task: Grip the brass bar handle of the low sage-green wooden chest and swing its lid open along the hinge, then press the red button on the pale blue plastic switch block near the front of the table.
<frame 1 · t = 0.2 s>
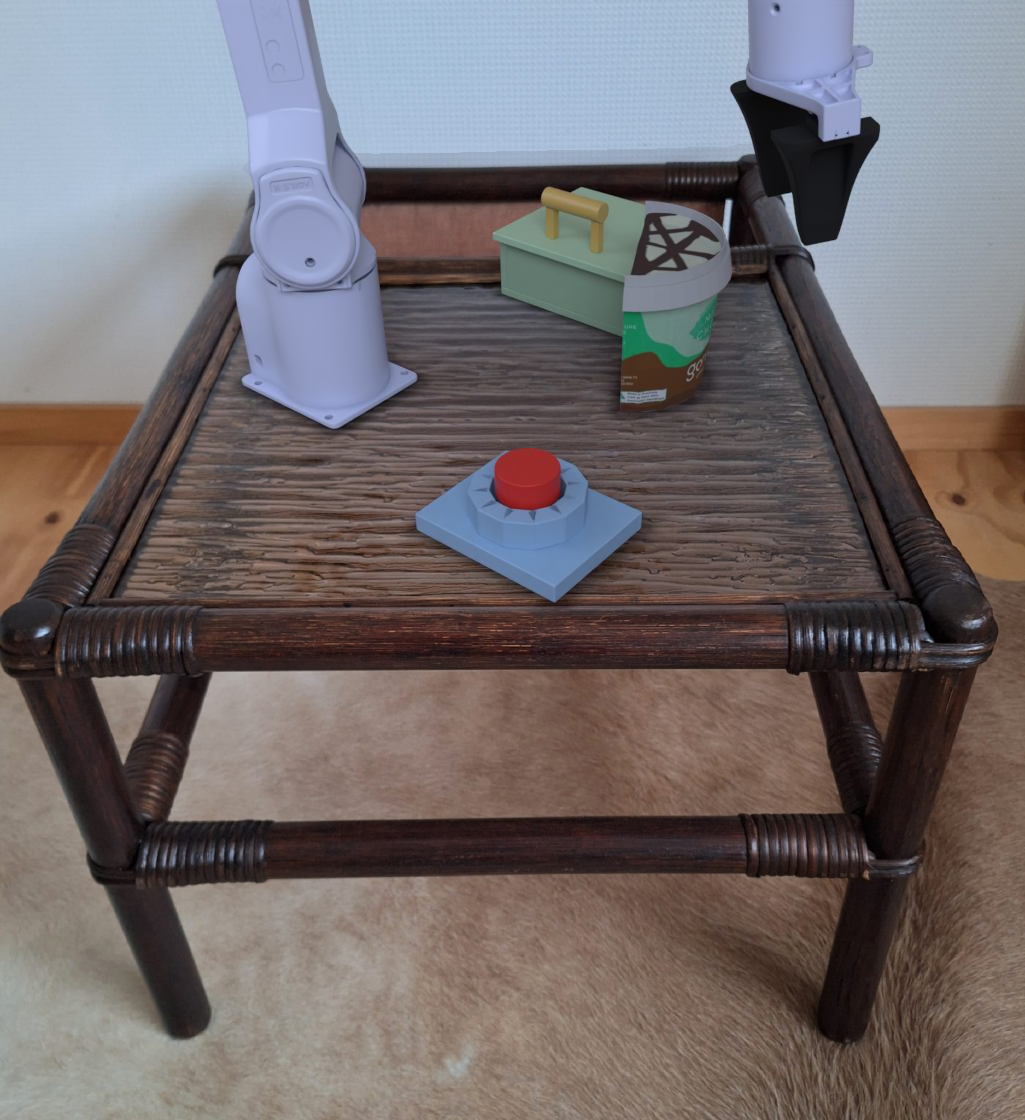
hand: (799, 215, 67), 11 cm above the table, tool pointing down, fingers open, 7 cm apart
switch block: (528, 529, 61), on the table
lid: (603, 208, 79), point 7 cm above the table, hinge at 0.0°
chest: (603, 291, 83), on the table
button: (527, 479, 59), point 3 cm above the table, slide at 0.1 cm
food container: (673, 381, 73), on the table
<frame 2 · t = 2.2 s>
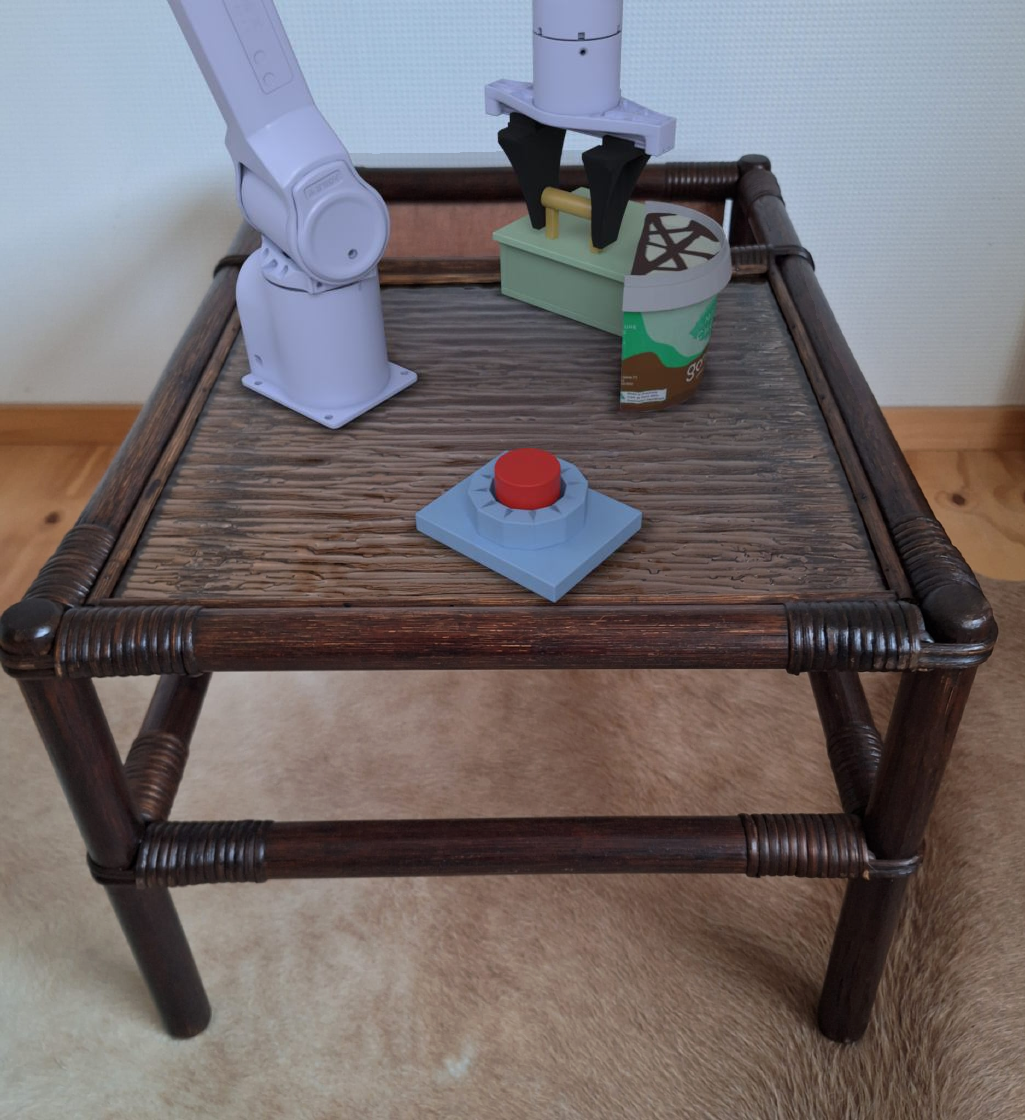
hand: (574, 234, 77), 6 cm above the table, tool pointing down, fingers closed on lid, 5 cm apart
lid: (603, 208, 79), point 7 cm above the table, hinge at 0.0°, touching gripper
everything else where it was.
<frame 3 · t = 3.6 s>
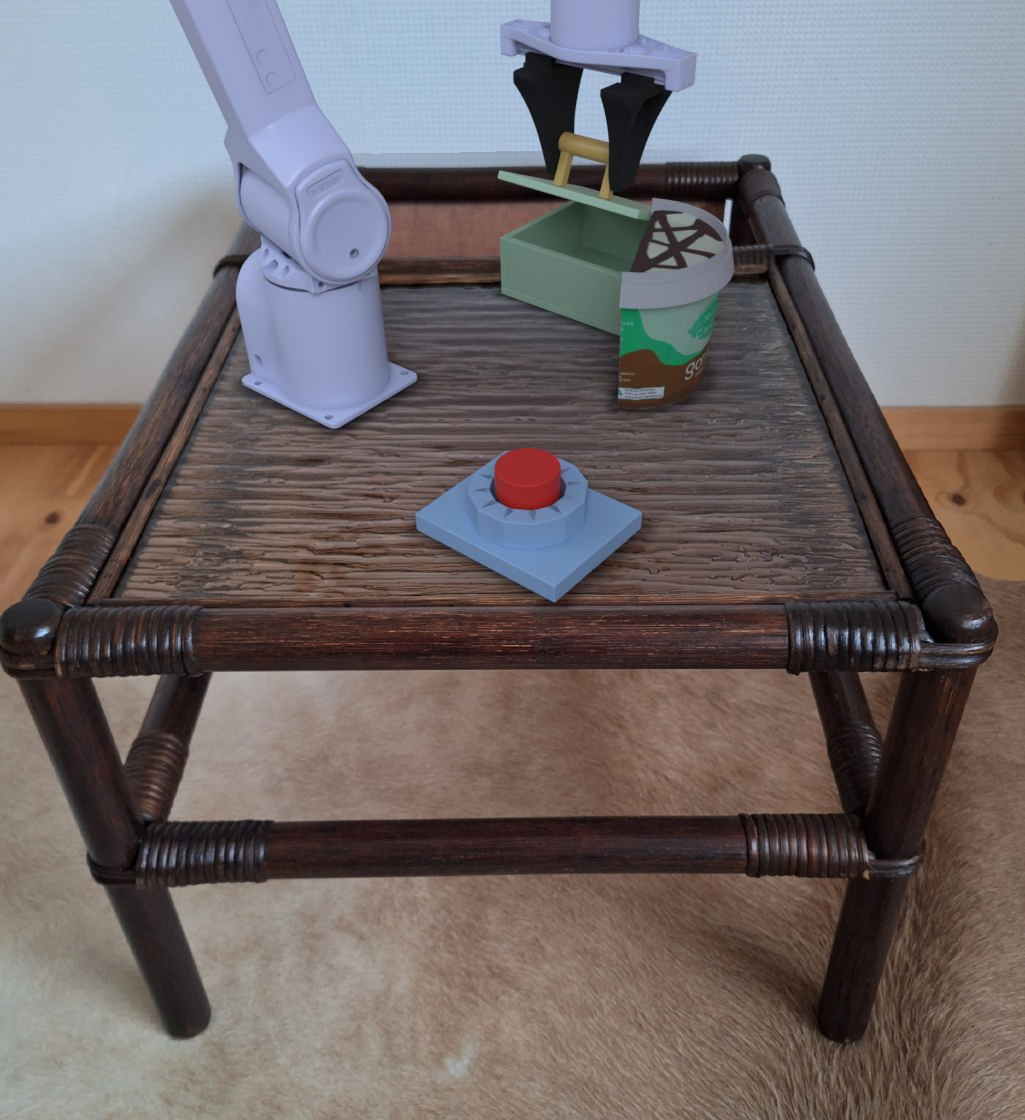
hand: (590, 178, 76), 9 cm above the table, tool pointing down, fingers closed on lid, 5 cm apart
lid: (613, 175, 78), point 9 cm above the table, hinge at 23.3°, touching gripper
everything else where it was.
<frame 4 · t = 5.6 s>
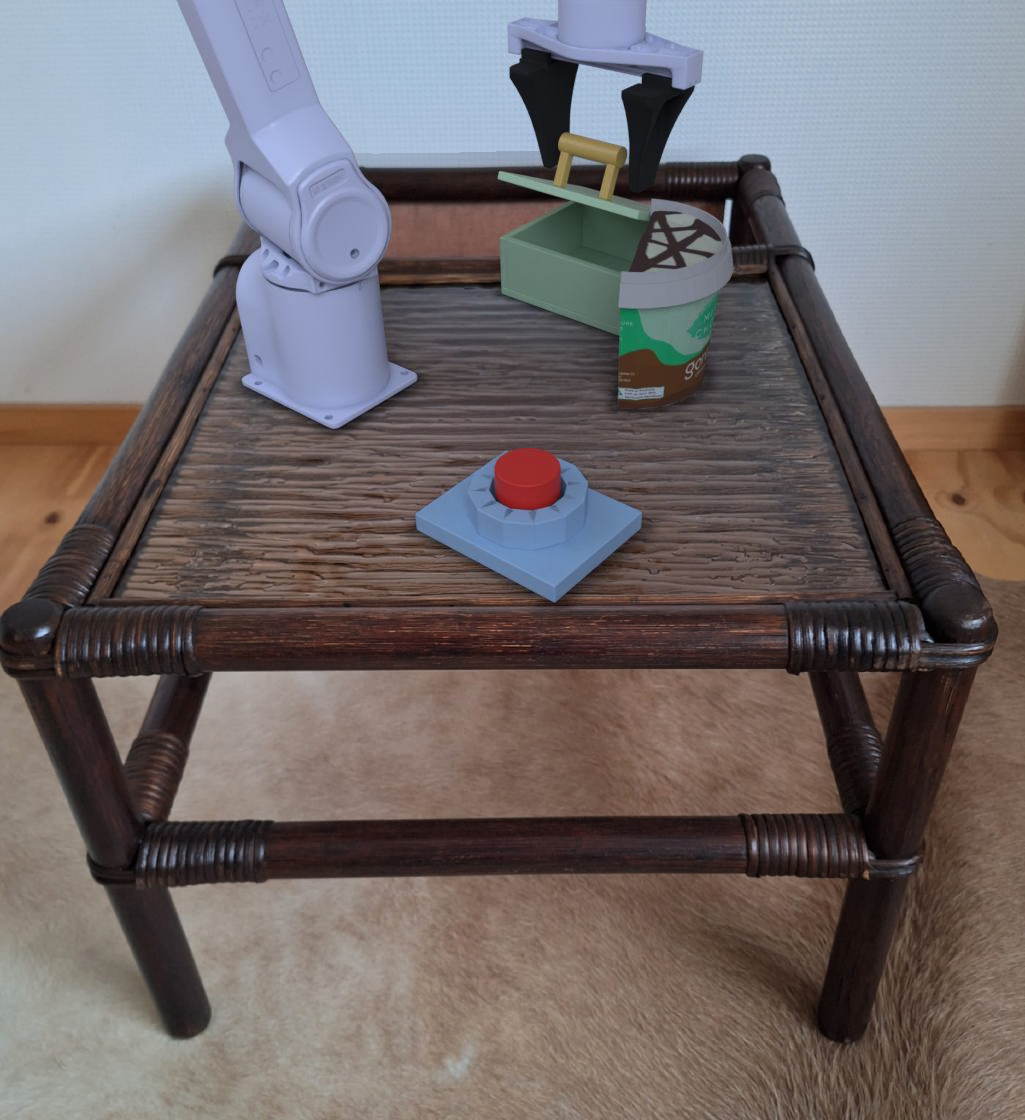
hand: (597, 175, 76), 9 cm above the table, tool pointing down, fingers open, 7 cm apart
lid: (613, 176, 78), point 9 cm above the table, hinge at 23.1°, touching food container
food container: (674, 379, 73), on the table, touching lid
everything else where it was.
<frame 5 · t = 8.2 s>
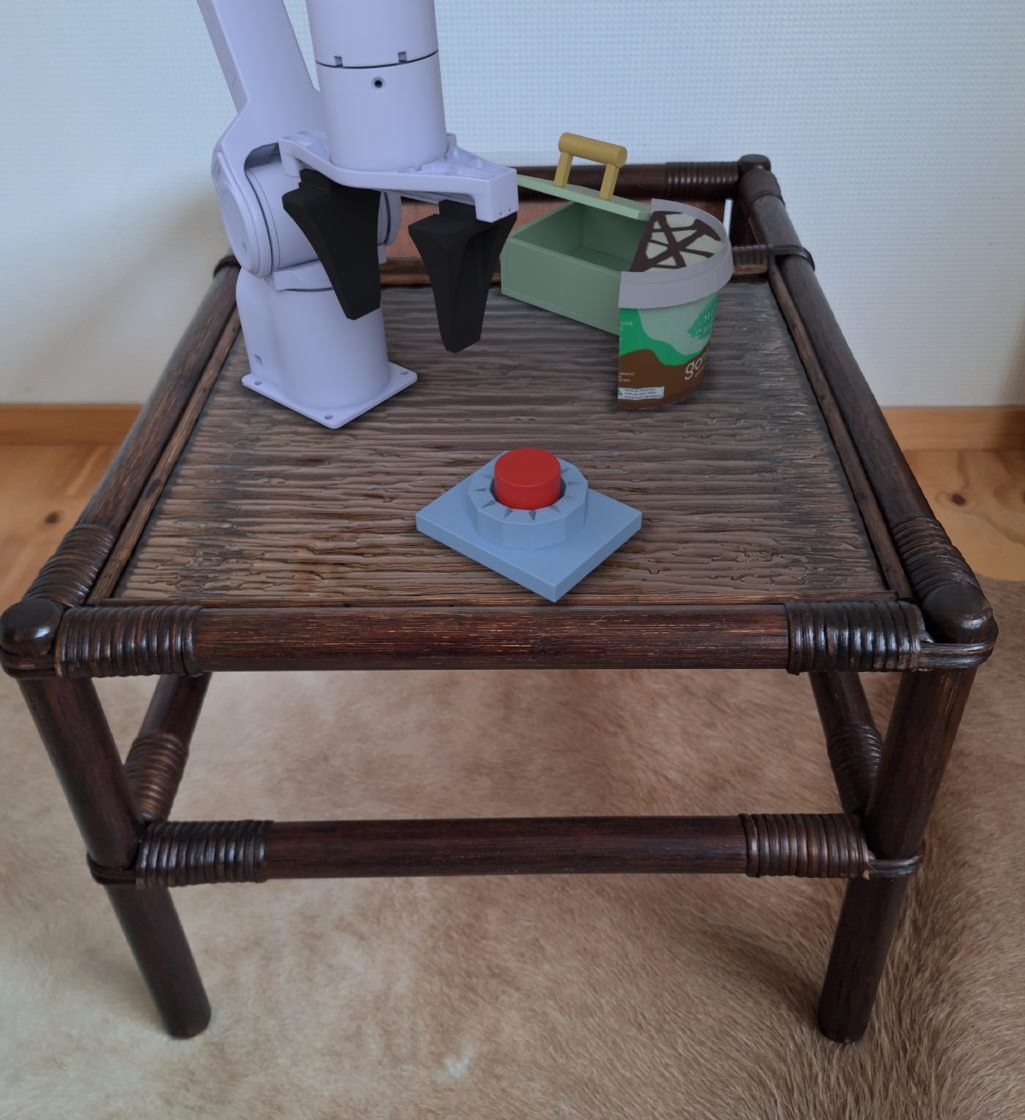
hand: (411, 328, 58), 10 cm above the table, tool pointing down, fingers open, 7 cm apart
nothing on the table moved.
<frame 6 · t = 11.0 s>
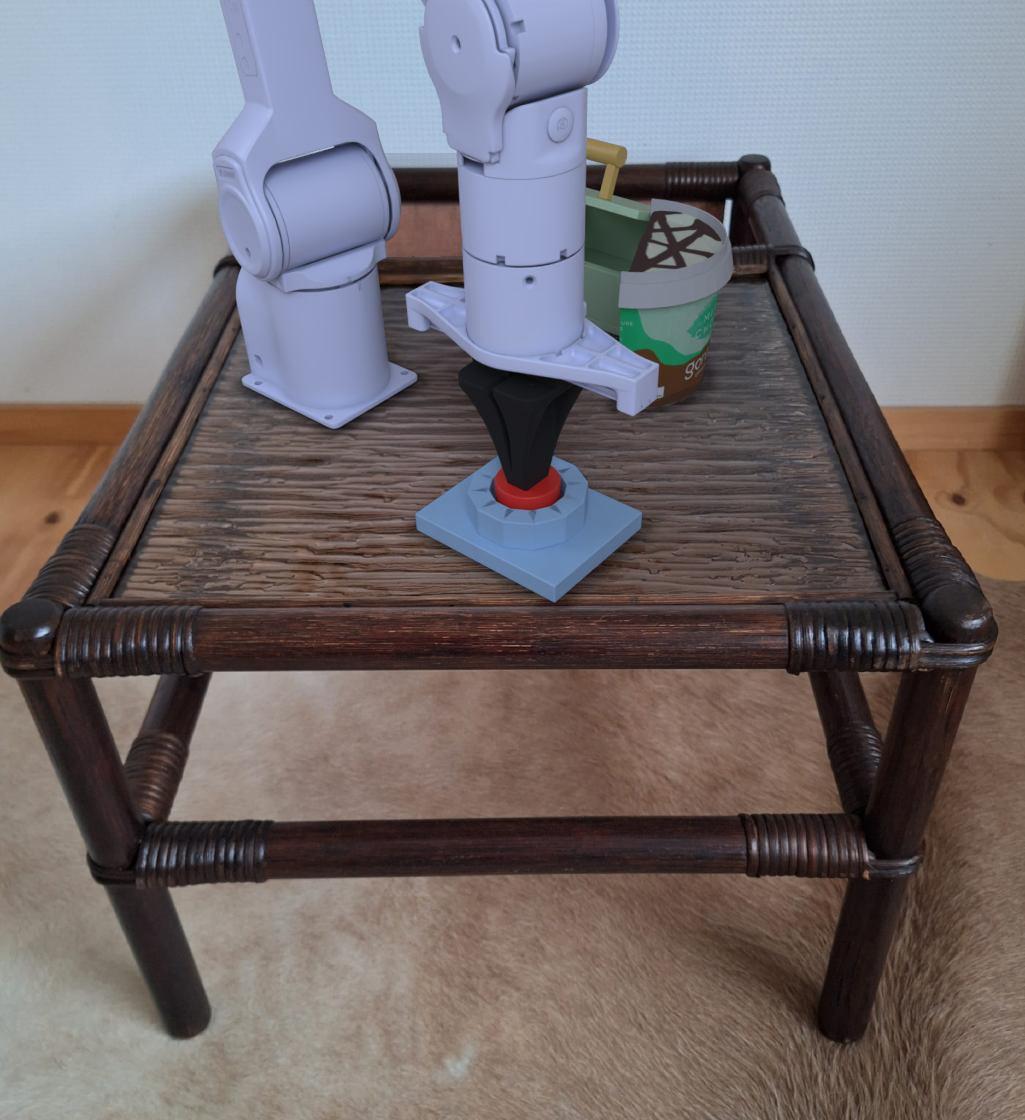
hand: (528, 479, 59), 4 cm above the table, tool pointing down, fingers closed, pressing on button
button: (527, 491, 59), point 3 cm above the table, slide at -0.7 cm, touching gripper
everything else where it was.
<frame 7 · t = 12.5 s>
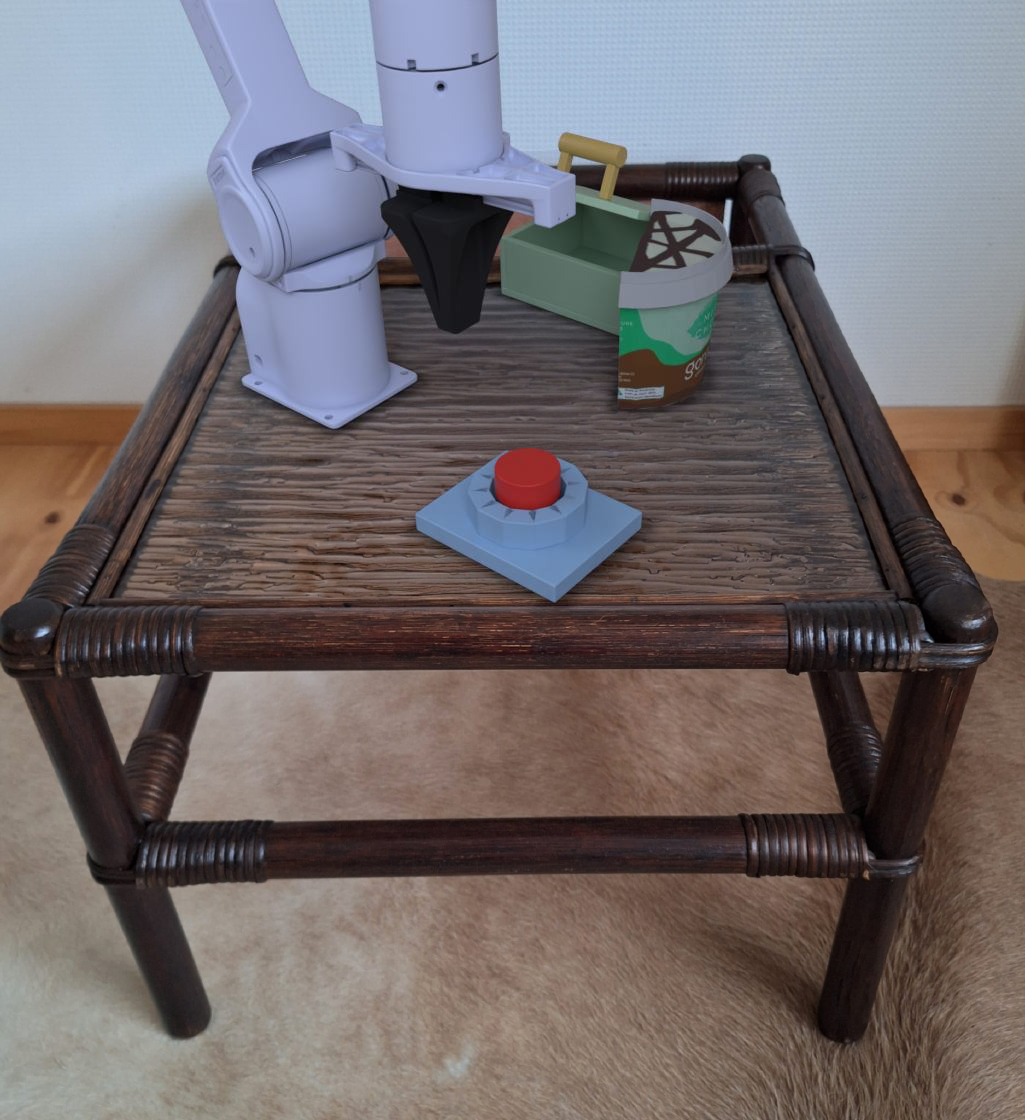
hand: (459, 324, 58), 10 cm above the table, tool pointing down, fingers closed
button: (527, 479, 59), point 3 cm above the table, slide at 0.1 cm
everything else where it was.
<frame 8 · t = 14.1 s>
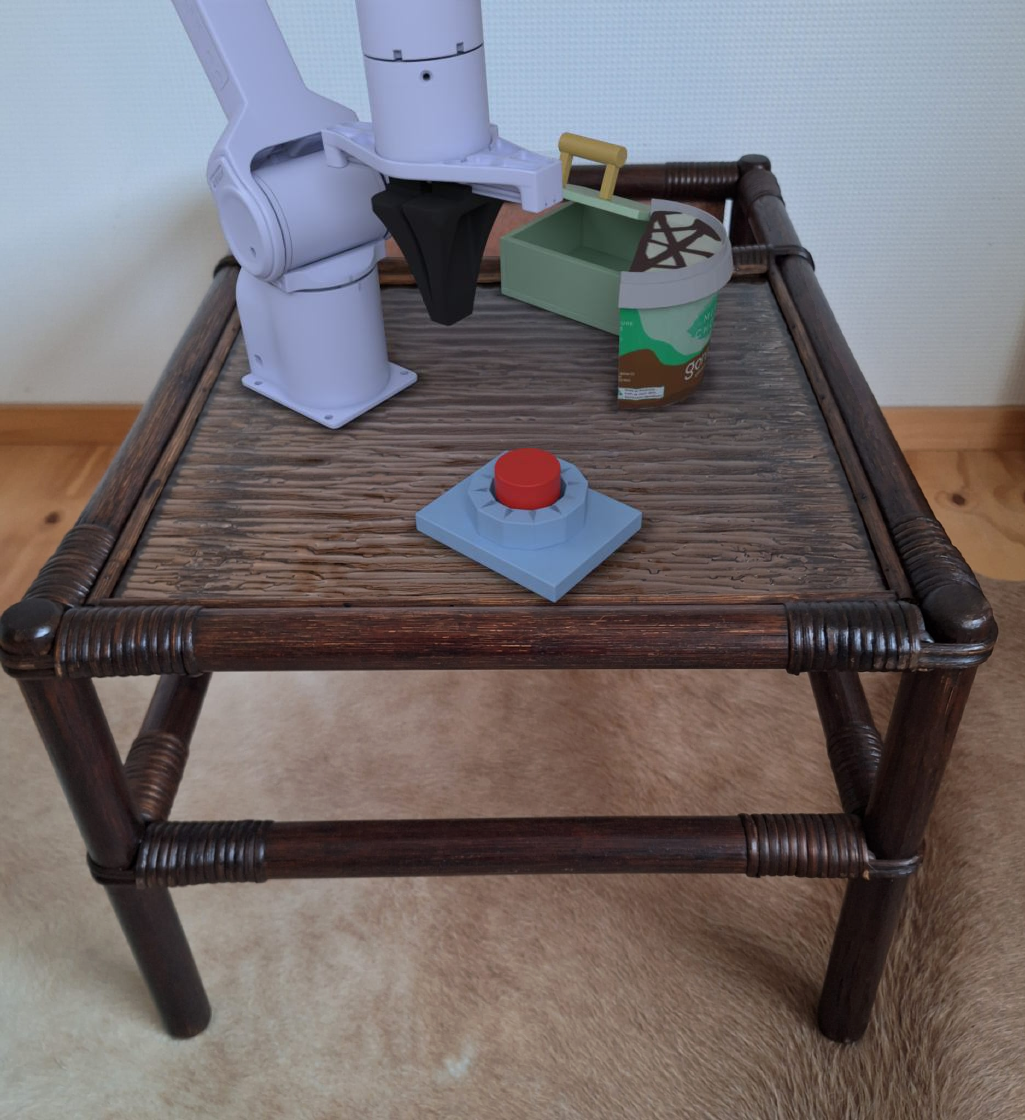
hand: (452, 317, 58), 10 cm above the table, tool pointing down, fingers closed
nothing on the table moved.
at the end: lid at +23° (first picture: +0°); button pushed in 1.1 cm at the most during the clip, back to where it started at the end; button slide at 0.1 cm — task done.
